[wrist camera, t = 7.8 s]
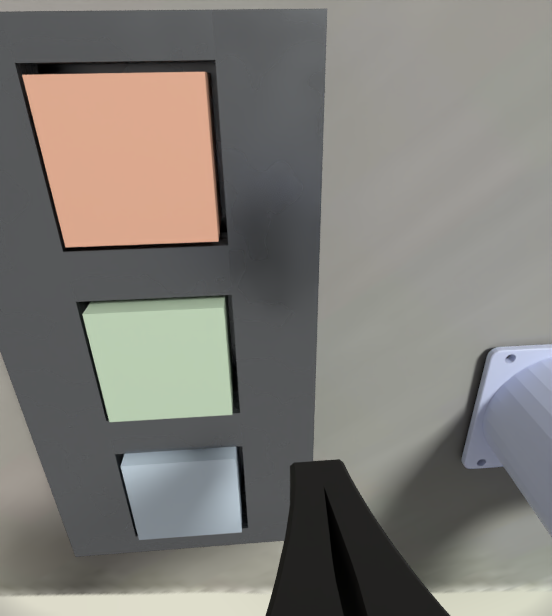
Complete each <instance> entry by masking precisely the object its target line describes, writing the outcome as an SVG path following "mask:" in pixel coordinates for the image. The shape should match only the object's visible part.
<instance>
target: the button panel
mask: <svg viewBox="0 0 552 616" xmlns="http://www.w3.org/2000/svg"><path fill="white" fill-rule="evenodd" d="M326 29H327V9H243V10H134V11H24V12H0V352H1V354H2V357H3V360H4V362H5V365H6V368H7V371H8V373H9V376H10V379H11V382H12V384H13V387H14V390H15V392H16V395H17V398H18V401H19V403H20V406H21V409H22V412H23V414H24V417H25V420H26V423H27V425H28V428H29V431H30V433H31V436H32V439H33V442H34V444H35V447H36V450H37V453H38V455H39V458H40V461H41V464H42V466H43V469H44V472H45V474H46V477H47V480H48V483H49V485H50V488H51V491H52V494H53V496H54V499H55V502H56V504H57V507H58V510H59V513H60V515H61V518H62V521H63V524H64V526H65V529H66V532H67V535H68V537H69V540H70V543H71V545H72V548H73V551H74V554H75V556H76V557H78V556H91V555H104V554H117V553H129V552H142V551H155V550H168V549H181V548H194V547H207V546H220V545H233V544H246V543H259V542H272V541H284V540H285V534H286V528H287V521H288V515H289V507H290V465H292V464H293V463H295V462H310V461H313V443H314V411H315V379H316V347H317V315H318V284H319V252H320V220H321V188H322V156H323V125H324V93H325V61H326ZM156 72H208V73H211V77H212V91H213V104H214V118H215V131H216V144H217V158H218V171H219V184H220V198H221V211H222V220H221V227H220V234H219V241H218V242H192V243H166V244H140V245H114V246H88V247H65V243H64V239H63V235H62V231H61V227H60V223H59V219H58V215H57V211H56V207H55V203H54V200H53V196H52V192H51V188H50V184H49V180H48V176H47V172H46V168H45V164H44V160H43V156H42V152H41V148H40V144H39V140H38V136H37V132H36V128H35V124H34V120H33V116H32V112H31V108H30V104H29V100H28V96H27V92H26V88H25V84H24V80H23V76H22V75H38V74H97V73H156ZM216 295H228V305H229V318H230V332H231V345H232V358H233V372H234V373H233V412H232V415H221V416H204V417H188V418H171V419H155V420H138V421H122V422H109V418H108V414H107V410H106V406H105V402H104V398H103V394H102V390H101V386H100V382H99V378H98V374H97V371H96V367H95V363H94V359H93V355H92V351H91V347H90V343H89V339H88V335H87V331H86V327H85V323H84V319H83V315H82V314H83V313H84V311H85V310H86V308H87V307H88V305H89V304H90V302H91V301H106V300H128V299H150V298H172V297H194V296H216ZM237 446H239V452H240V465H241V479H242V532H240V533H227V534H214V535H200V536H187V537H174V538H161V539H147V540H139V538H138V534H137V530H136V526H135V522H134V518H133V514H132V510H131V506H130V502H129V498H128V494H127V490H126V486H125V482H124V478H123V474H122V470H121V463H122V460H123V457H124V454H128V453H144V452H159V451H175V450H190V449H206V448H221V447H237Z"/></svg>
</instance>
